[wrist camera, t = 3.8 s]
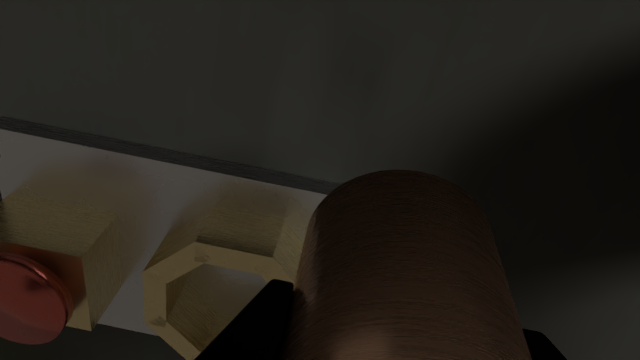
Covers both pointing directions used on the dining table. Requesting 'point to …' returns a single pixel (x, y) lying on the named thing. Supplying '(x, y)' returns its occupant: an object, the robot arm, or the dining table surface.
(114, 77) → the dining table surface
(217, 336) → the robot arm
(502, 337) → the pipe stub
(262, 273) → the panel with octagonal sockets
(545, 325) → the dining table surface
